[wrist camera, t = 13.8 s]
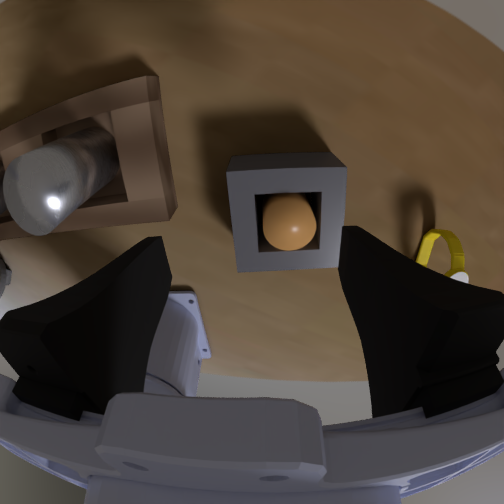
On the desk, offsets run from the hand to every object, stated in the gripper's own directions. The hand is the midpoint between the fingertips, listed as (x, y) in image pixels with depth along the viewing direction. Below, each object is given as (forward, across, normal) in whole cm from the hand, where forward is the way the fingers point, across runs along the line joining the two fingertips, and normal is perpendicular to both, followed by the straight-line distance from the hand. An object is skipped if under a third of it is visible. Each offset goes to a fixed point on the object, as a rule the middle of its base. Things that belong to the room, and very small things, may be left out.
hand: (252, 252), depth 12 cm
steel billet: (+10, +12, -3) cm, 16 cm away
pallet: (+10, +18, -3) cm, 21 cm away
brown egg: (+9, -2, +2) cm, 10 cm away
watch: (+11, -15, +7) cm, 20 cm away
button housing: (+10, -2, +2) cm, 11 cm away
